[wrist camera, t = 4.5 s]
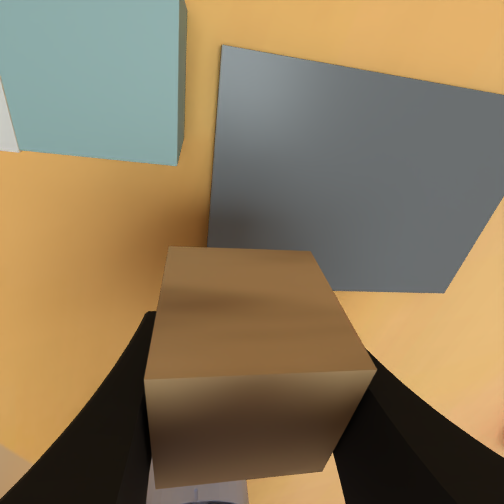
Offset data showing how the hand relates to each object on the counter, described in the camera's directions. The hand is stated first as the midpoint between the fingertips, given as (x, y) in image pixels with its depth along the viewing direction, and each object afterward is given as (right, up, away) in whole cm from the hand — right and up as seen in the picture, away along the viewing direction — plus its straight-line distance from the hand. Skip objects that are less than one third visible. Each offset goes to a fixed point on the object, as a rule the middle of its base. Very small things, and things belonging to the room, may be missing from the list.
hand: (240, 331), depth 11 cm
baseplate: (+7, +6, +7) cm, 12 cm away
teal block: (-5, +11, +3) cm, 12 cm away
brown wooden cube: (0, +1, +1) cm, 1 cm away
